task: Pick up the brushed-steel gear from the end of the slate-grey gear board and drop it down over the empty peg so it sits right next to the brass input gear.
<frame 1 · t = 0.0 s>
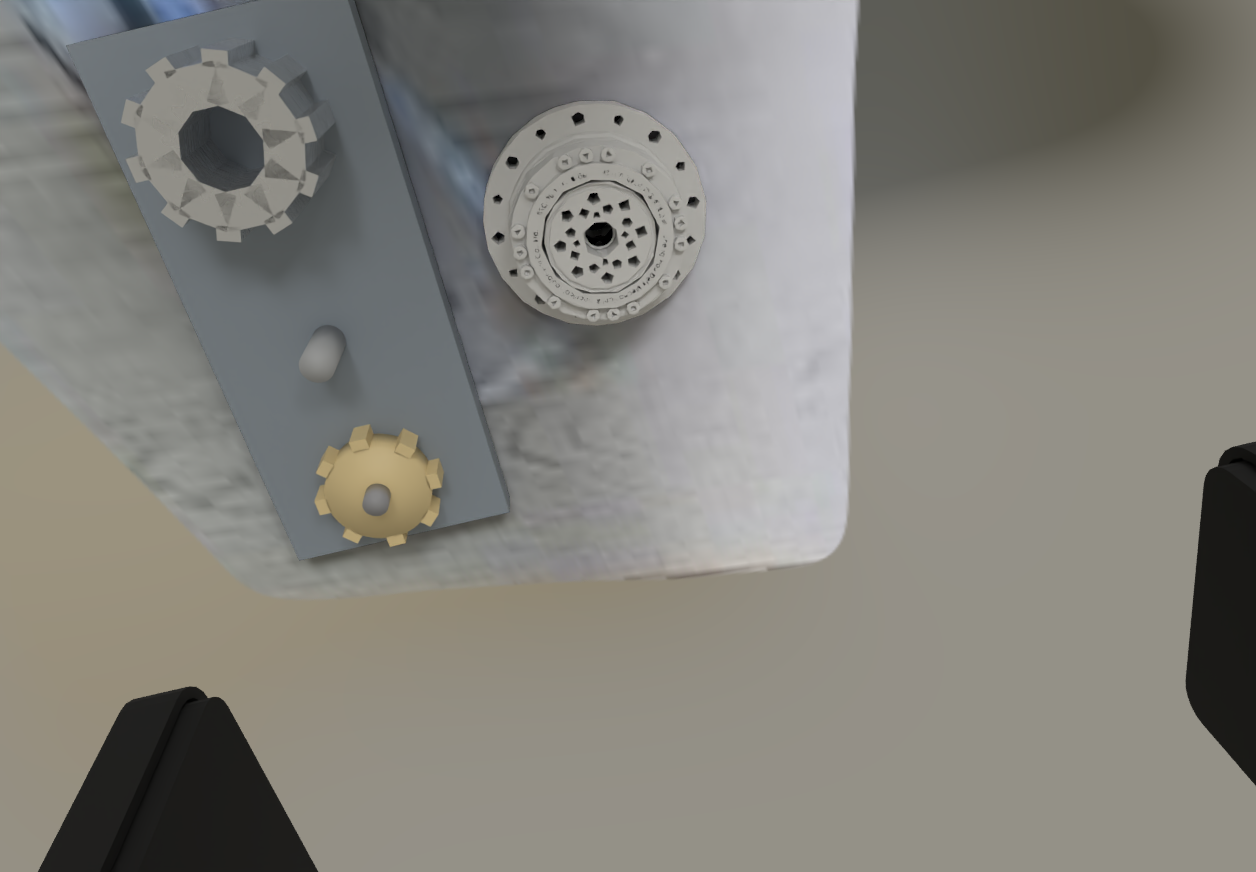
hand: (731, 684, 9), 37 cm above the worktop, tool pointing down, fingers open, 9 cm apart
steel gear: (248, 130, 40), point 1 cm above the worktop, touching gear board
mechanical component: (593, 211, 45), on the worktop
gear board: (323, 299, 45), on the worktop
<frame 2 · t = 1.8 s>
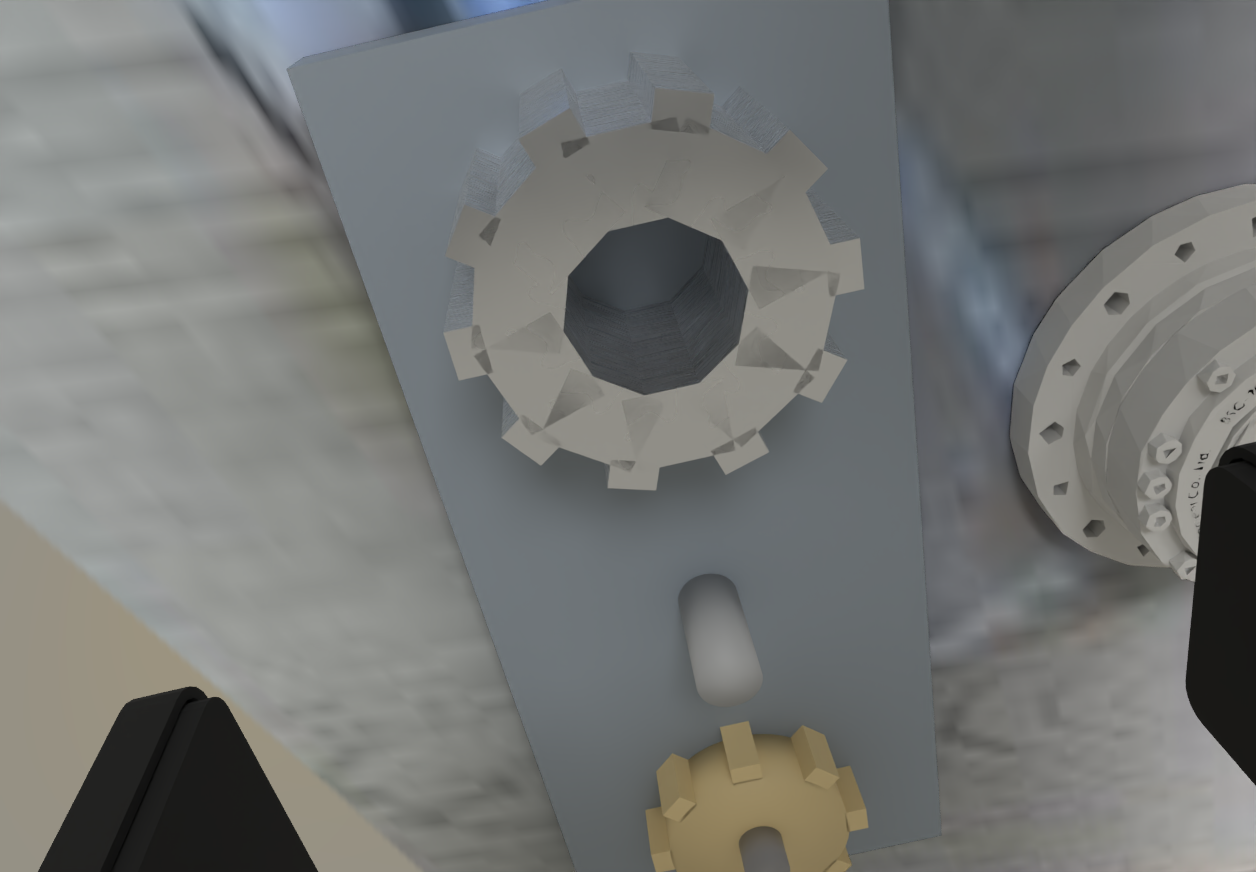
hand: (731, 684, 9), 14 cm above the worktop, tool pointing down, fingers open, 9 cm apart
steel gear: (632, 237, 20), point 1 cm above the worktop, touching gear board
mechanical component: (1192, 372, 25), on the worktop
gear board: (689, 516, 25), on the worktop
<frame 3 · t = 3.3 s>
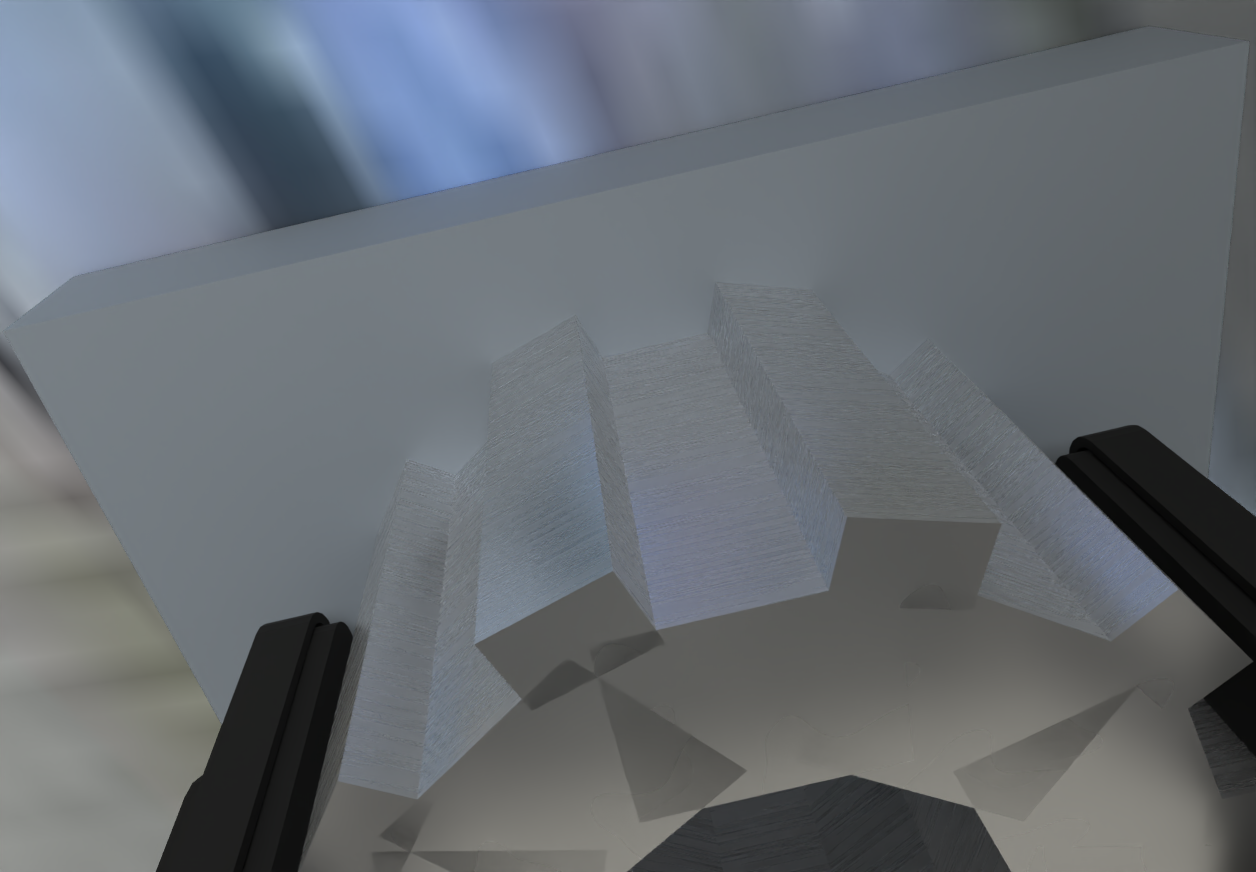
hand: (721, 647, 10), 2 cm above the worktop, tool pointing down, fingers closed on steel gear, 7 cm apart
steel gear: (707, 596, 10), point 1 cm above the worktop, touching gear board, gripper
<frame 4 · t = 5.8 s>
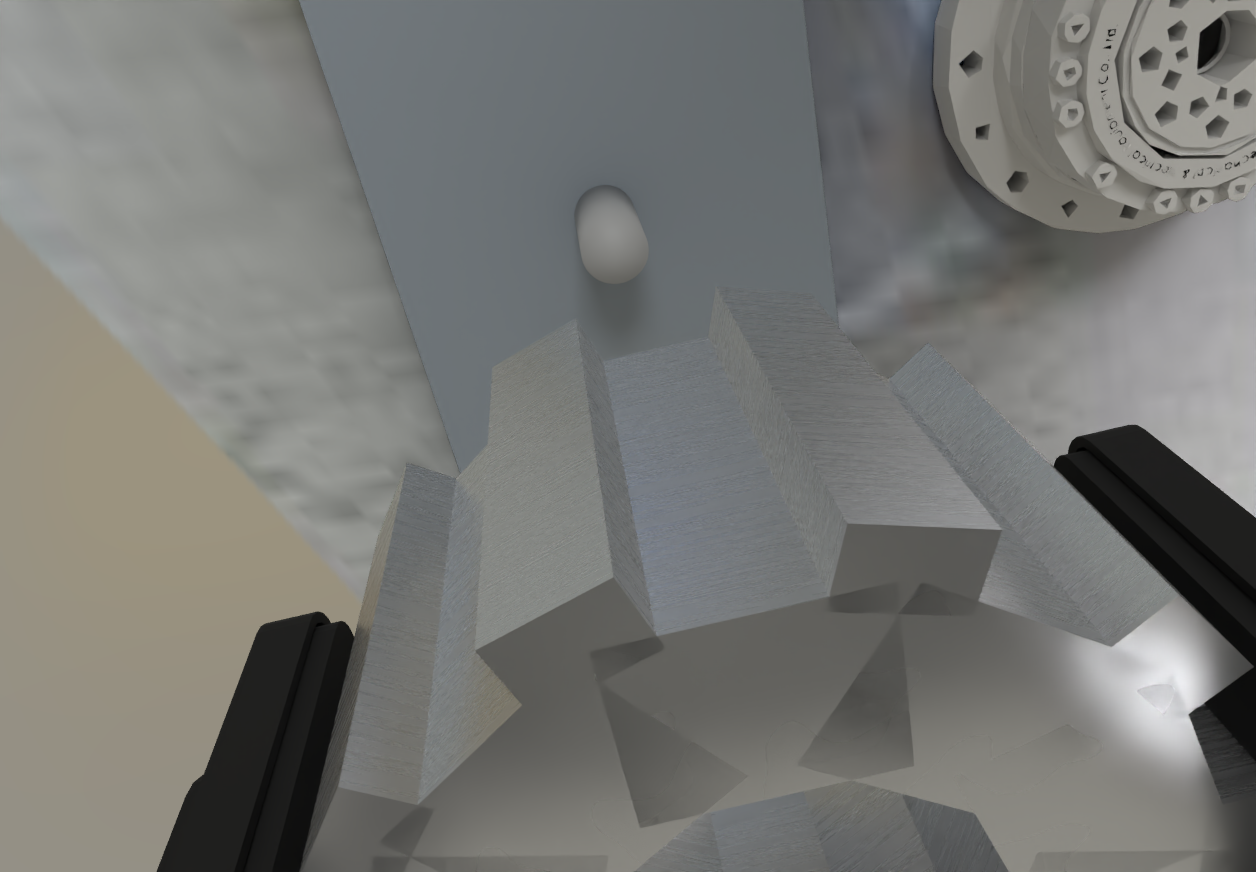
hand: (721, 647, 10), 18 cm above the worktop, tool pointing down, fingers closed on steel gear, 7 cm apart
steel gear: (708, 599, 10), point 17 cm above the worktop, touching gripper
mechanical component: (1112, 26, 25), on the worktop
gear board: (587, 142, 25), on the worktop
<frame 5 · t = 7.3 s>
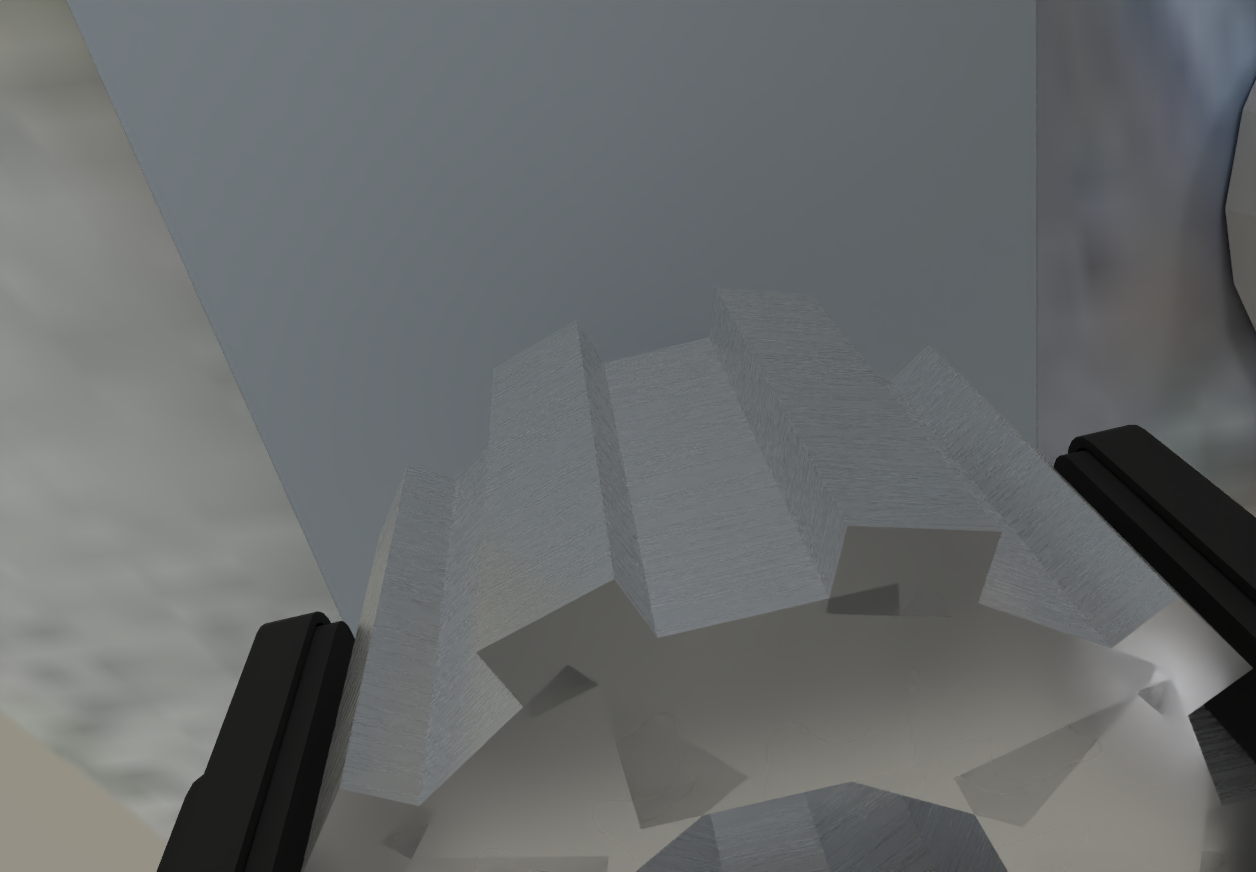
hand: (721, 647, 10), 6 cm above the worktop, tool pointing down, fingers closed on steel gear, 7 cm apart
steel gear: (708, 600, 10), point 6 cm above the worktop, touching gripper
gear board: (631, 287, 15), on the worktop
when the fingers open (3 cm above the worktop, at t = 8.5 s): steel gear stays where it is, resting on gear board.
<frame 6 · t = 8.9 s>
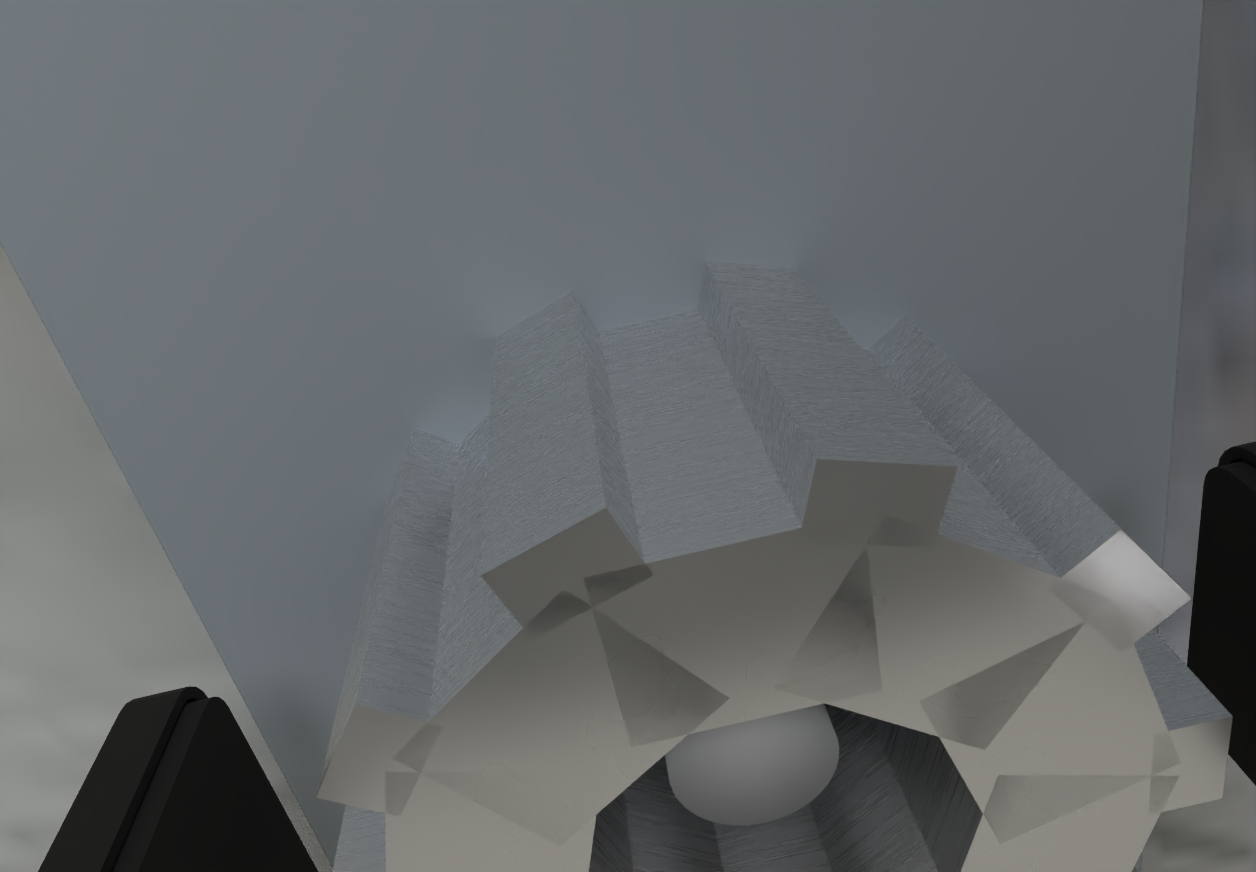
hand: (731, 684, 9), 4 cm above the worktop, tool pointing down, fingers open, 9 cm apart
steel gear: (698, 561, 11), point 1 cm above the worktop, touching gear board
gear board: (656, 392, 12), on the worktop
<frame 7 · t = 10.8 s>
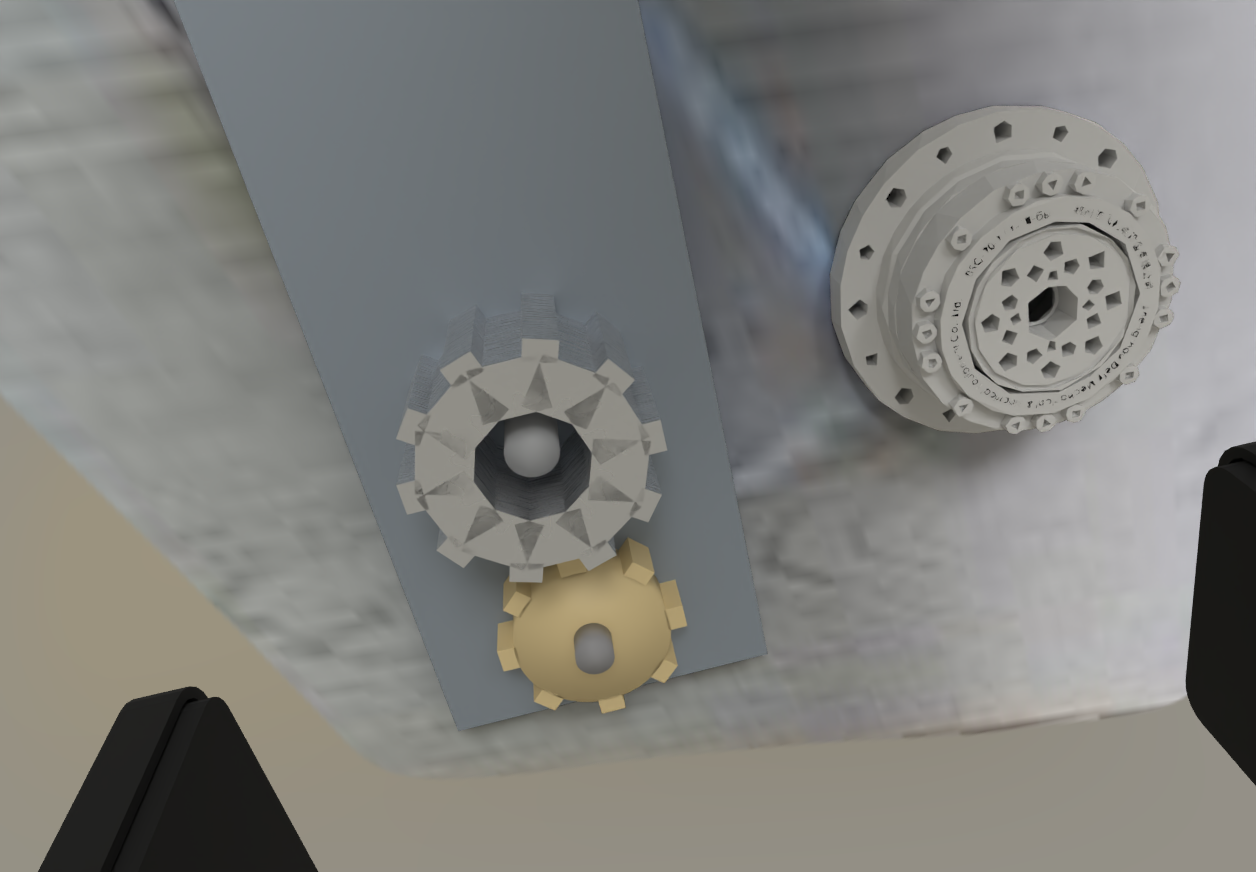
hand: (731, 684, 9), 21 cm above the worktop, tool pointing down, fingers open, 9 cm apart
steel gear: (530, 407, 29), point 1 cm above the worktop, touching gear board
mechanical component: (978, 268, 31), on the worktop
gear board: (516, 346, 29), on the worktop
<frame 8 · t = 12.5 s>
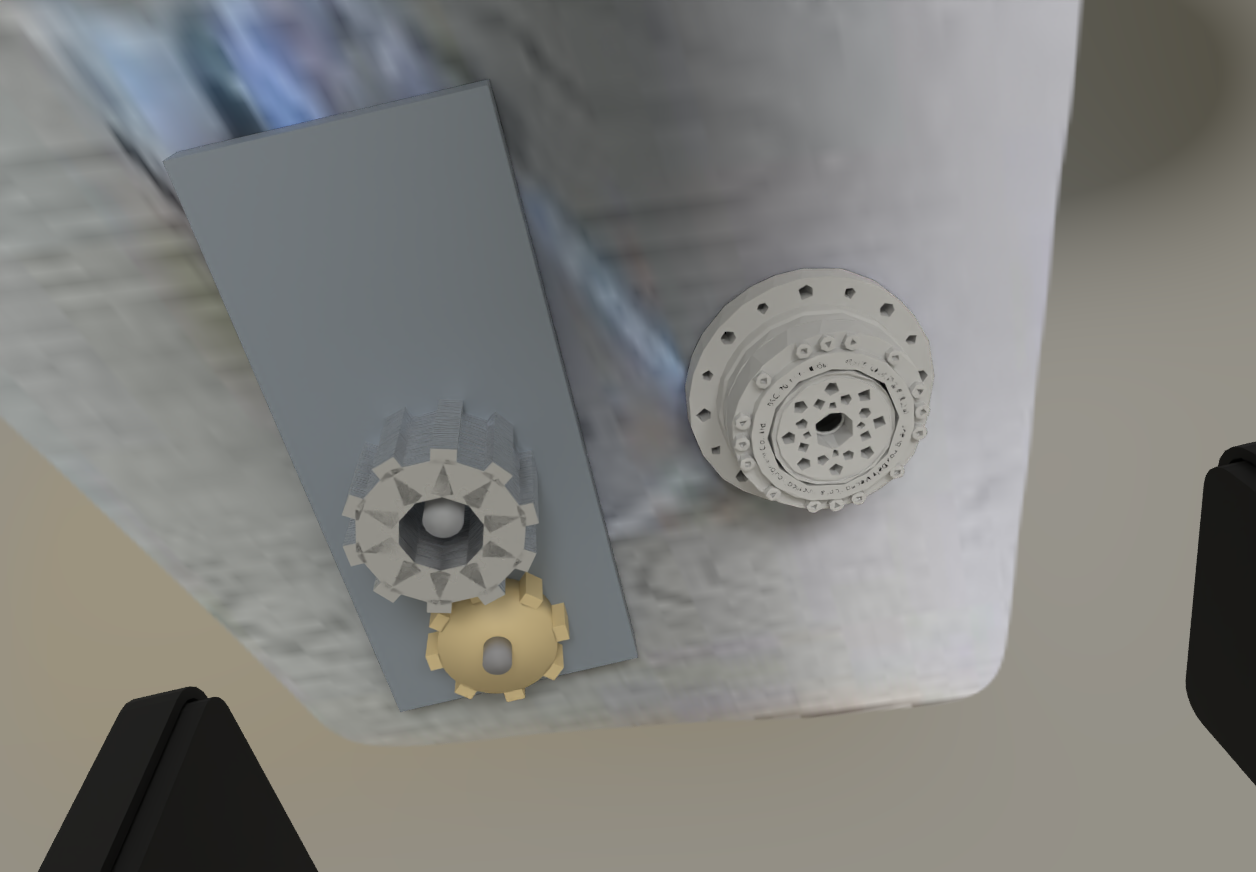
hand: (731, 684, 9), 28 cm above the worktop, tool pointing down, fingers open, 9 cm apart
steel gear: (448, 479, 38), point 1 cm above the worktop, touching gear board
mechanical component: (802, 379, 40), on the worktop
gear board: (439, 430, 39), on the worktop
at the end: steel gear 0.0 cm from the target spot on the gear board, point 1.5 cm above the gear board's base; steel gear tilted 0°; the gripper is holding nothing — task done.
